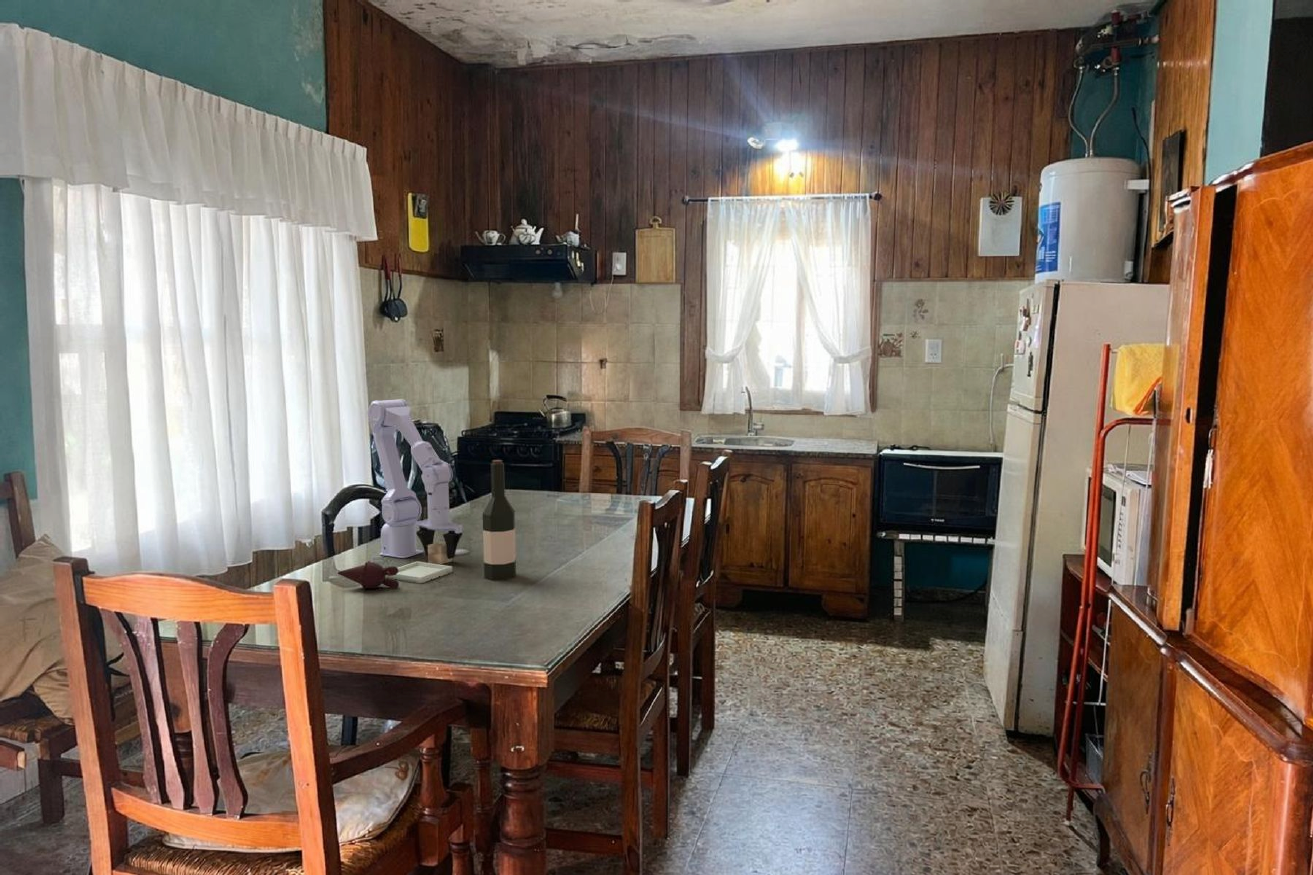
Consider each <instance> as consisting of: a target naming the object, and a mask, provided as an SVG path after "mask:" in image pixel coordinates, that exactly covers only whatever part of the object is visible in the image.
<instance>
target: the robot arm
mask: <svg viewBox="0 0 1313 875" xmlns="http://www.w3.org/2000/svg"><path fill="white" fill-rule="evenodd" d="M408 404H409V403H408V402H407V401H406V400H405V399H403V398H397V399H388V400H387V399H386V400H373V401H372V402H371V403H370V405H369V407H368V409H367V413H366V414H367V417H368V421H369V426H370V429H371V432H372V436H373V439H374V440H373V441H374V443H375V444H374V445H375V447H376V452H377V455H378V458H379V463H380V467H381V471H382V475H383V480H384V482H385V487H386V491H387V493H386V494H385V495H384V496H383V498H382V499H381V515H382V519H383V520H384V522H385V523H384V525H383V526H382V528H381V530H380V544H381V546H380V548H381V550H380V551H381V552H379V555H380V556H385V557H392V558H400V559H406V558H409V557H410V558H411V557H412V556H416V555H419V554H422V553H425V556H426V557H428V545H430V544H433V543H434V538H435V533H436V531H438V532H446V533H444V534H442V537H443V539H444V542H445V543H446V549H447V558H448V559H451V558H452V559H454V558H455V552H456V550H457V547H458V544H459V542H460V539H461V537H462V536H463V525H462V524H457V523H453V522H452V521H451V520H450V496H449V495H450V494H449V493H450V492H449V483H450V482H452V480H453V477H454V475H453V469H452V467H451V464H449V463H448V462H446V461H444V460H442V459H441V458H440V457H439V455H438V453H436V451H435V449H434V448H433V446H432V444H431V443H430V442H429V441H424V440H423V439H422V438H423V437H422V436H421V435H420V432H419V430H418V429H417V427H416V425H415V424H414V421H413V419H412V417H411V412H412V410H411V408H410V406H409V405H408ZM397 430H398V431H399V432H400V434H401V435H402V436H403V437H404V439H405V440H406V442H407V443H408V444H409V445H410V447H411V451H410V454H411V456H412V458H413V459H414V461H415V462H416V464H417V465H418V467H419V468H420V470H421V471H422V474H421V480H422V482H423V484H424V490H425V492H426V501H427V502H426V503H427V520H419V521H418V519H419V518H420V517H421V514H422V511H423V510H422V504H421V503H420V502H421V501H419V499H418V497H417V494H416V492H415V491H413V490H412V489H411V488H408V487H407V483H406V478H405V475H404V471H403V466H402V462H401V459H400V455H399V451H398V447H397V444H396V438H395V432H396V431H397ZM417 530H418V531H417ZM417 537H418V538H419V540H420V542H421V544H422V548H423V550H421V549H418V548H417Z"/></svg>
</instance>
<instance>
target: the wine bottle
mask: <svg viewBox="0 0 1313 875" xmlns="http://www.w3.org/2000/svg"><path fill="white" fill-rule="evenodd" d="M490 482H491V483H490V484H491V485H490V486H491V491H490V492H491V497H490V499H489V501H488V503H487V505H486V506H485V509H484V510H483V512H482V532H483V533H482V537H483V538H482V542H483V546H482V548H483V572H484V573H483V574H484V578H483V579H486V580H488V581H491V582H493V581H495V582H496V581H508V580H511V579H514V578H516V576H517V562H516V560H517V558H516V557H517V556H516V553H517V552H516V522H515V521H516V520H515V518H516V514H515V510H514V508H513V506H512V505H511V502H510V501H509V500H508V499H507V497H506V496H505V495H506V494H505V493H506V492H505V488H506V487H505V463H503V460H502V459H494V460H492V463H490Z"/></svg>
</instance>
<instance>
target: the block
mask: <svg viewBox="0 0 1313 875" xmlns="http://www.w3.org/2000/svg"><path fill="white" fill-rule="evenodd" d="M427 561H428V562H427V563H432V564H439V565H445V564H447V563H450V562H452V561H453V558H451V559H448V558H447V549H446V543H445V541H443V542H442V541H436V542H433V544H430V545H428V556H427ZM444 563H445V564H444Z"/></svg>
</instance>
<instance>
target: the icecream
mask: <svg viewBox="0 0 1313 875" xmlns="http://www.w3.org/2000/svg"><path fill="white" fill-rule="evenodd" d="M397 573H398V567H397V566H394V565H392V566H391V565H390V566H387V567H383V566H382V565H380V564H378V563H376V562H374V561H370V560H368V561H366V562H365V563H364V564H363V565H358V566H354V567H352V568H346V569H344V570H339V571H337V574H338V575H340V576H342V577H344V578H346V579H348V580H350V581H353V582H355V583H357V584H360V585H361V587H362V589H363V590H366V589H376V588H379V587H380V586H382V585H383V586H385V587H388V588H390V587H396V588H398V587H399V584H400V583H399V582H398V580H395V579H388V578H385V576H386V575H388V576H393V575H396V574H397Z"/></svg>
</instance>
